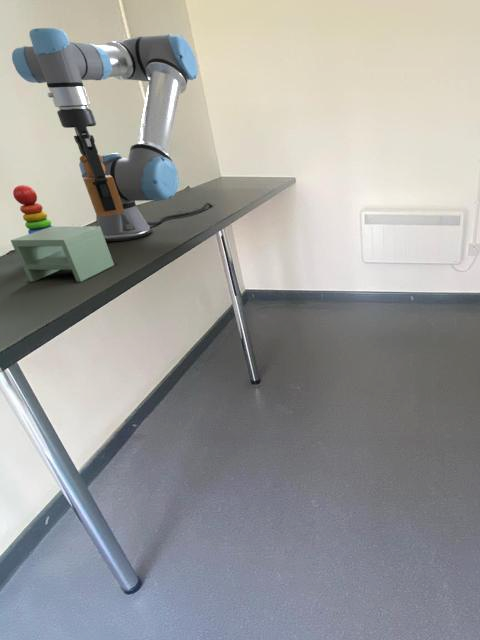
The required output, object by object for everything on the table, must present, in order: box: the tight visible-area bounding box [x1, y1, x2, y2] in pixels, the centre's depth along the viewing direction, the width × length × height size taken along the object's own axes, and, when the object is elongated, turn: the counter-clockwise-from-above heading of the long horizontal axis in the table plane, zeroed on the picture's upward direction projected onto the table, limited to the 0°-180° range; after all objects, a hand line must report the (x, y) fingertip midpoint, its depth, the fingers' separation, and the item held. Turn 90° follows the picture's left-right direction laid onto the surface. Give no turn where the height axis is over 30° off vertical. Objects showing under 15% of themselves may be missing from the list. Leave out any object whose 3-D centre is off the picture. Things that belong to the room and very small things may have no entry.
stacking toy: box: [12, 184, 55, 234], centre depth 133 cm, size 8×8×19 cm
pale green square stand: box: [10, 225, 115, 283], centre depth 120 cm, size 13×14×10 cm
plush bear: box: [79, 154, 125, 217], centre depth 127 cm, size 6×6×14 cm
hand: (108, 208), depth 130 cm, fingers closed on plush bear, 5 cm apart
